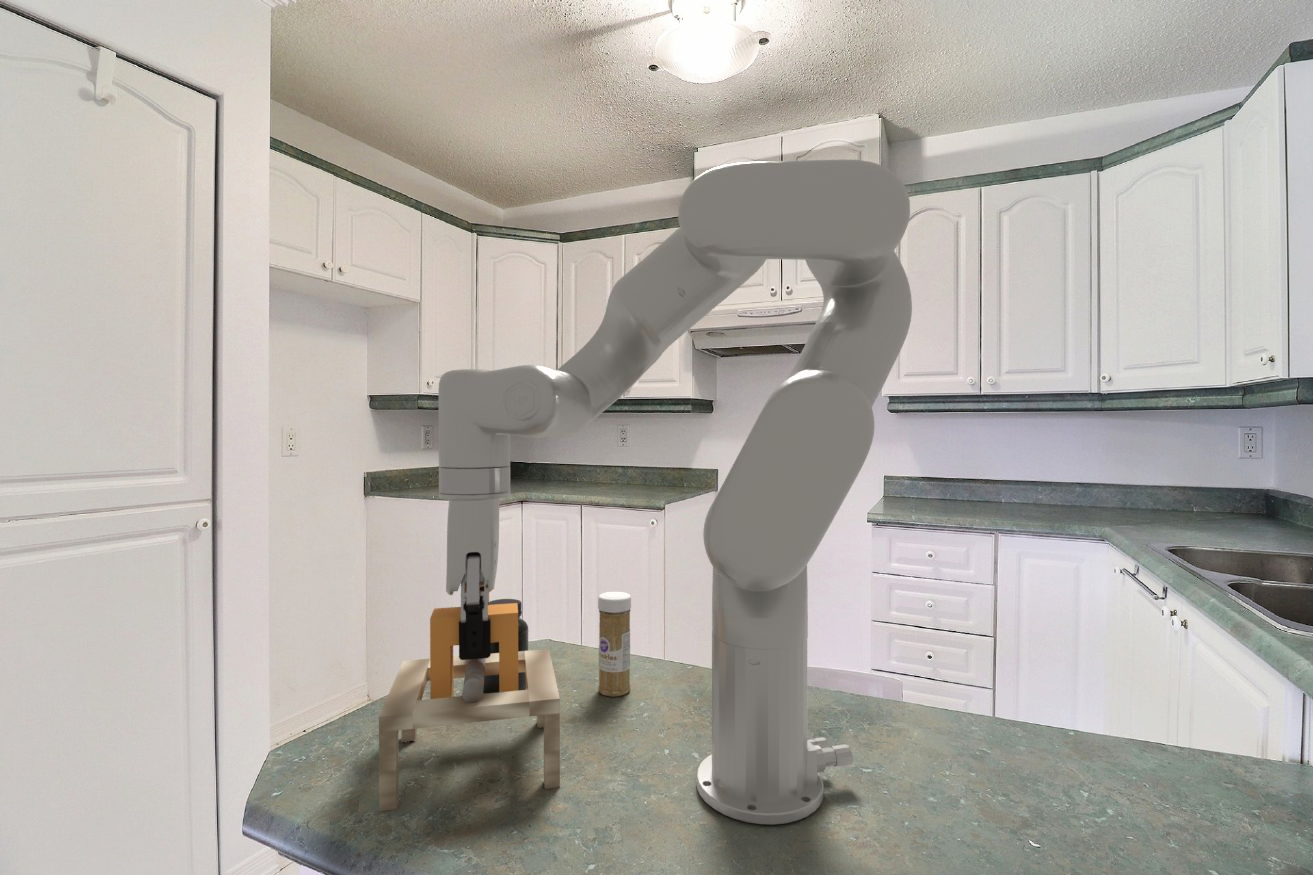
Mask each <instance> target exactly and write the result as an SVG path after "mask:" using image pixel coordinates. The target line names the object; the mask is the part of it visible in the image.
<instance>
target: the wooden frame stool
mask: <svg viewBox="0 0 1313 875" xmlns="http://www.w3.org/2000/svg"><path fill="white" fill-rule="evenodd" d="M520 672H525V674H526V684H527V686H526V689H523V690H519V691H509V692H499V693H488V694H484V693H483V687H484V676H487V675H498V674H499V653H493V654H491V655H490V657H488V658H482V659H470V660H461V659H460V658H459V655H457V656H453V680H455V679H461V678H462V679H463V678H464V679H463V686H462V692H461V695H457V696H454V697H447V698H436V699H430V698H428V699H427V698H426V699H423V696H424V693H425V688H426V686H427V683H428V681H429V682H430V658H424V659H423V658H422V659H411V660H410V659H407V660H402V662H401V665H400V668H399V669H398V672H397V674H396V676H395V679H394V682H393V684H392V686H391V688H390V689H389V690H390V691H389V693H388V695H387V697H386V699H385V702H384V703H383V706H382V709H381V711H380V713H379V715H378V809H379V810H378V811H379V812H385V811H391V810H392V811H393V810H397V808H398V804H399V800H400V799H399V798H400V797H399V796H400V795H399V794H400V793H399V792H400V791H399V790H400V789H399V787H400V786H399V785H400V784H399V783H400V781H399V778H400V777H399V774H400V773H399V767H400V766H399V731H401V743H402V742H405V743H410V742H409V741H414V740H417V737H418V729H425V728H432V727H443V726H452V725H463V724H472V723H481V722H492V721H499V720H500V721H501V720H508V719H519V718H527V717H528V718H529V717H536V725H537V726H536V727H537V729H538V728H543V783H544V784H543V785H544V790H549V789H556V788H560V787H561V772H560V771H561V768H560V767H561V755H560V754H561V751H560V750H561V749H560V747H561V742H560V740H561V736H560V735H561V724H560V722H561V720H560V718H561V715H560V713H561V712H560V710H561V707H560V706H561V702H560V700H561V698H560V694H559V689H558V684H557V679H556V675H555V671H554V664H553V661H552V656H551V651H550V649H549V648H545V649H534V650H533V649H532V650H530V649H528V651H518V673H520ZM407 741H408V742H407ZM414 742H415V741H414Z"/></svg>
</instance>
